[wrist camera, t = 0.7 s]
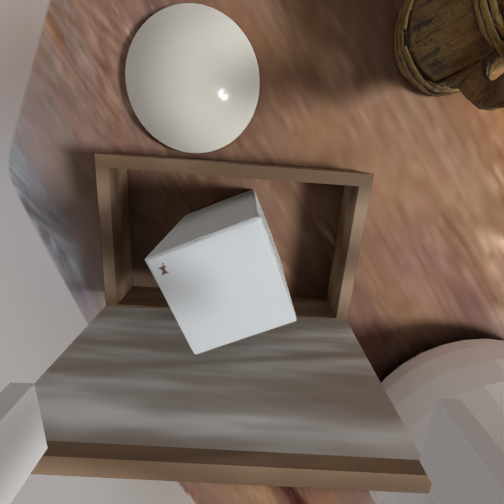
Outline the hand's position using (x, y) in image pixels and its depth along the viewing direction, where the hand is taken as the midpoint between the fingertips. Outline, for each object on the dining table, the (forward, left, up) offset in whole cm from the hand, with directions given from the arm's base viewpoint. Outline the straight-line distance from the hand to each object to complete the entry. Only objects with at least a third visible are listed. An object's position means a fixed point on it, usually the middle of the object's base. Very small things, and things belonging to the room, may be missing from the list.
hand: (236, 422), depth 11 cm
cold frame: (0, -1, -22) cm, 22 cm away
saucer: (-13, -5, -22) cm, 26 cm away
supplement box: (0, -1, -22) cm, 22 cm away
